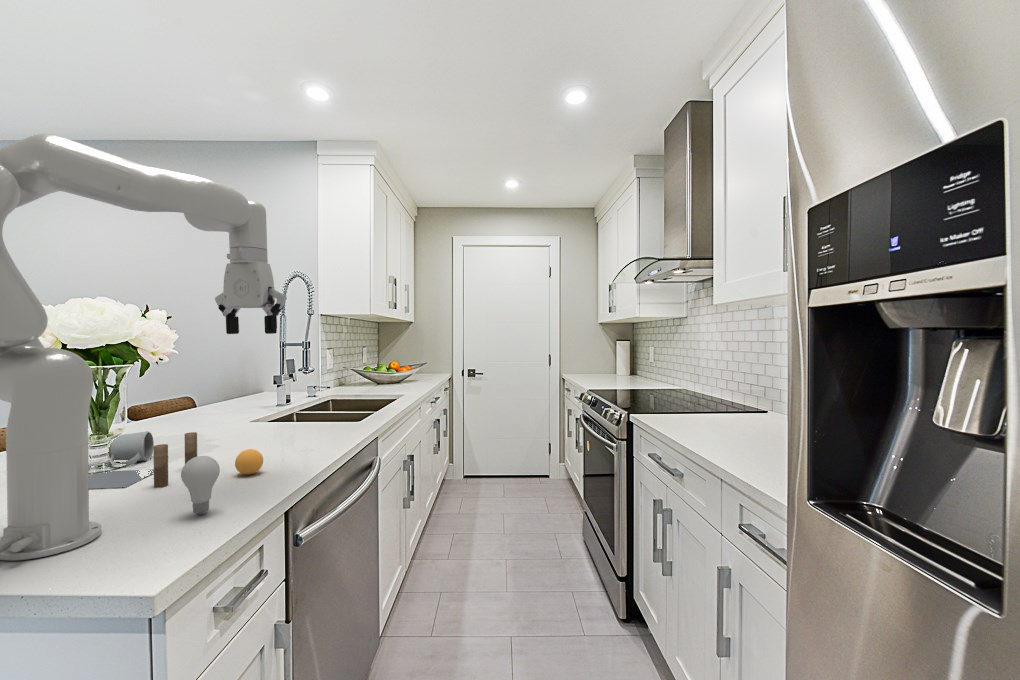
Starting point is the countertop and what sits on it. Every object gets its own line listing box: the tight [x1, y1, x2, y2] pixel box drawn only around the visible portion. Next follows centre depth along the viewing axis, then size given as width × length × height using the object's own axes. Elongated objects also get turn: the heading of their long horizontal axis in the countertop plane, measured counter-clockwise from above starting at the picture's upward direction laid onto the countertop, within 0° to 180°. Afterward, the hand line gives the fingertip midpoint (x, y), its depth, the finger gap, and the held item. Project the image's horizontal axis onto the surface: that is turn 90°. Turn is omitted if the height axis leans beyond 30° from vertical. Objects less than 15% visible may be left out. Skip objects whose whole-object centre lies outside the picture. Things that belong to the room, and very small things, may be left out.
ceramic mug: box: [108, 431, 155, 467], centre depth 126 cm, size 11×8×8 cm
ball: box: [234, 448, 264, 476], centre depth 116 cm, size 6×6×6 cm
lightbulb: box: [180, 455, 221, 516], centre depth 90 cm, size 6×6×11 cm
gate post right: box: [184, 431, 198, 465], centre depth 120 cm, size 3×3×9 cm
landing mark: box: [89, 468, 154, 490], centre depth 111 cm, size 14×14×1 cm
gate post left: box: [153, 443, 169, 488], centre depth 107 cm, size 3×3×9 cm
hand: (251, 333), depth 109 cm, fingers open, 9 cm apart
